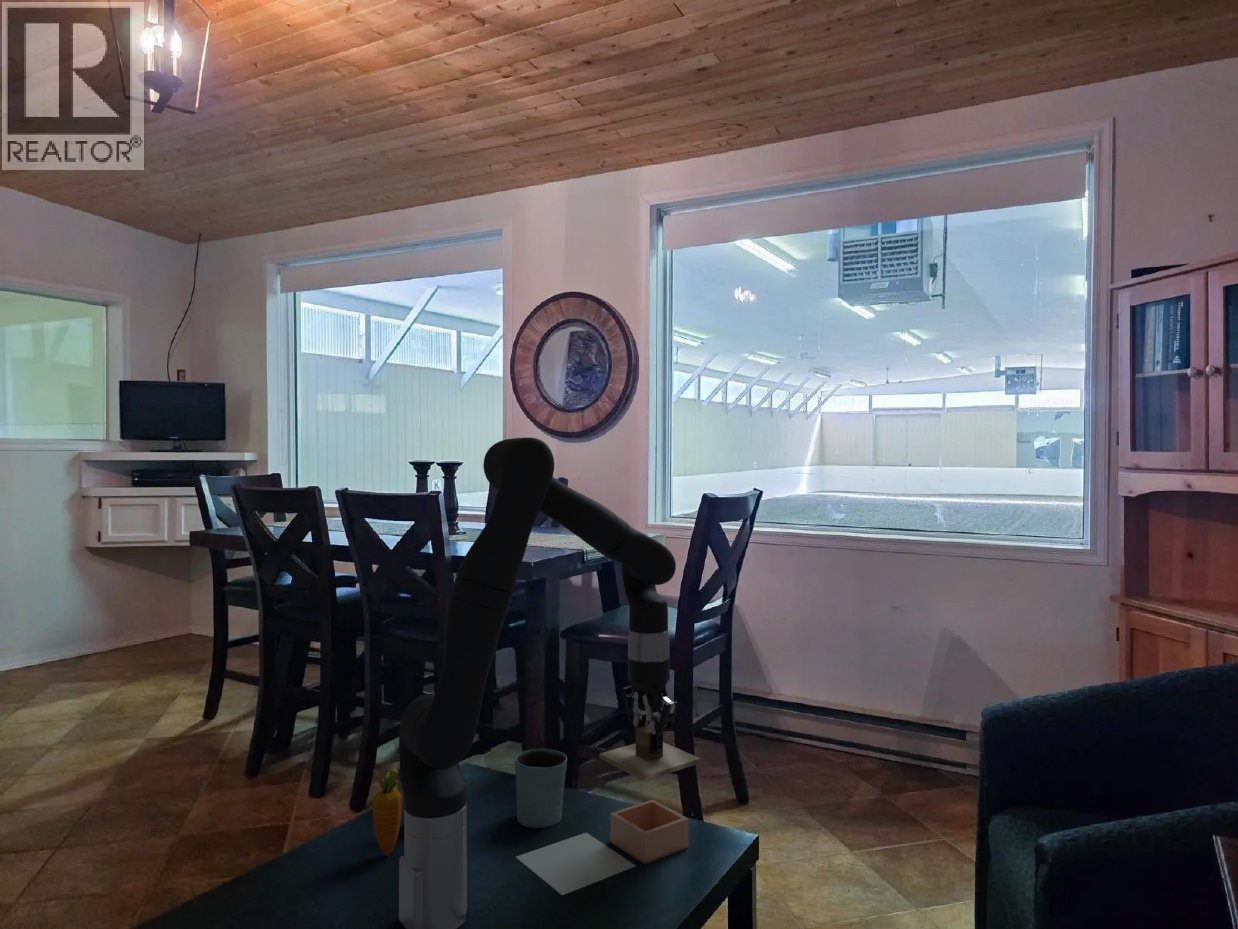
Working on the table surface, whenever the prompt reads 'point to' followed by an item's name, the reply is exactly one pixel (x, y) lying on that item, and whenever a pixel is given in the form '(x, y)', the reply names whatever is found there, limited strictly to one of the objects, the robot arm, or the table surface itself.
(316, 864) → the table surface
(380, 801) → the carrot
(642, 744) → the lid
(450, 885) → the robot arm
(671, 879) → the table surface
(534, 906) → the table surface
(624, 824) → the open square box
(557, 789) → the grey cup
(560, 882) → the tray
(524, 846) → the table surface
